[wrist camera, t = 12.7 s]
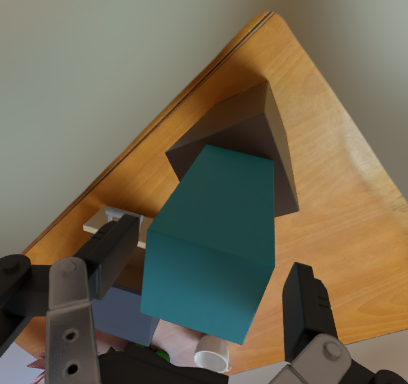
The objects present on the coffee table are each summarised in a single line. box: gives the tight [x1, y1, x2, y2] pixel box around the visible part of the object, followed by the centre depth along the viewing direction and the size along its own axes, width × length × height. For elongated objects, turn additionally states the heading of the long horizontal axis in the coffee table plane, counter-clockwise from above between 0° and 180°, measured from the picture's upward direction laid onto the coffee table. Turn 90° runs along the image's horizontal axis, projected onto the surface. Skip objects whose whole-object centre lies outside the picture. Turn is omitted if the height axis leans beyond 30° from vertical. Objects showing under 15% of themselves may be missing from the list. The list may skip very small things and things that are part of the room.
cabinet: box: [91, 283, 160, 347], centre depth 58 cm, size 15×15×9 cm
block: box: [140, 144, 275, 345], centre depth 16 cm, size 5×5×11 cm
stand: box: [165, 81, 299, 218], centre depth 30 cm, size 8×8×22 cm
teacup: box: [194, 334, 231, 373], centre depth 63 cm, size 10×8×5 cm
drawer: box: [83, 205, 154, 292], centre depth 51 cm, size 18×14×7 cm
